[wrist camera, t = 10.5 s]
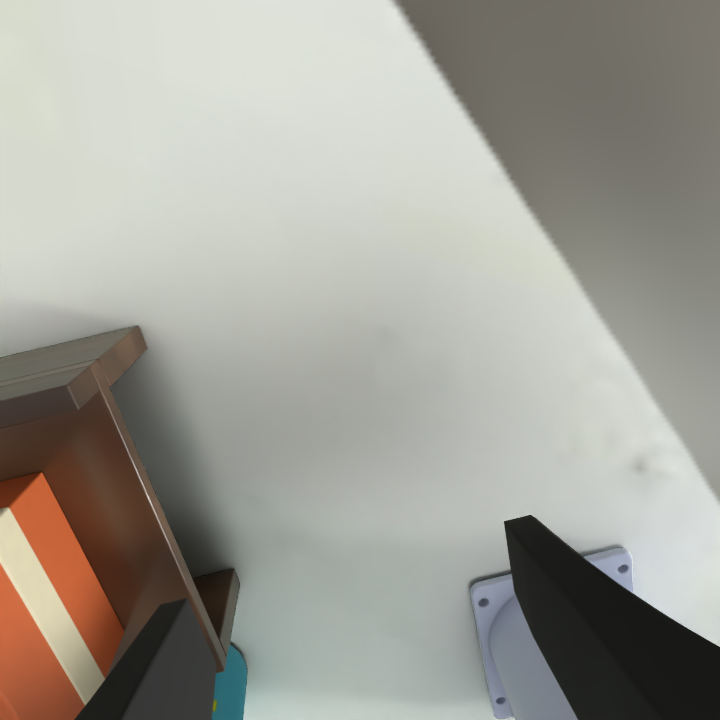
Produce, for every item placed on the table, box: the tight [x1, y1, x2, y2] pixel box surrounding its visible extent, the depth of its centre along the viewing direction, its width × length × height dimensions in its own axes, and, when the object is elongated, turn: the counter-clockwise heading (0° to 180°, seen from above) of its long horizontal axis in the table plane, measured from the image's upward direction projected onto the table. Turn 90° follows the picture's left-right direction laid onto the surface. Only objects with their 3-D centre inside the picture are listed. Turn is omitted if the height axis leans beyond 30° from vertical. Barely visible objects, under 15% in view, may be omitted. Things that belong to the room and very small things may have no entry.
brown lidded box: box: [0, 326, 240, 679], centre depth 19 cm, size 13×9×6 cm
